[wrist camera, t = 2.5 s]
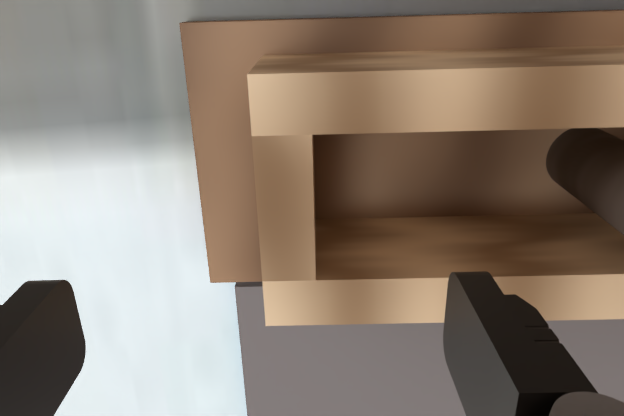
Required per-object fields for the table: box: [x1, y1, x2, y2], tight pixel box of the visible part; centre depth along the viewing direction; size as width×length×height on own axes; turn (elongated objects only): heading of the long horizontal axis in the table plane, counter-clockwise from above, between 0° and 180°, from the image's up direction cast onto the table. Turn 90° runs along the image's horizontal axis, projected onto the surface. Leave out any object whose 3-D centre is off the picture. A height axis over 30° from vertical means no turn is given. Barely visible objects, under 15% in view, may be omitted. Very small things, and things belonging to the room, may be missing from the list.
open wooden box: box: [247, 45, 624, 326], centre depth 18 cm, size 18×9×5 cm, turn 91°
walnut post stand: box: [179, 10, 624, 283], centre depth 15 cm, size 24×11×14 cm, turn 91°
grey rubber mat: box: [235, 282, 624, 416], centre depth 25 cm, size 22×10×1 cm, turn 91°
